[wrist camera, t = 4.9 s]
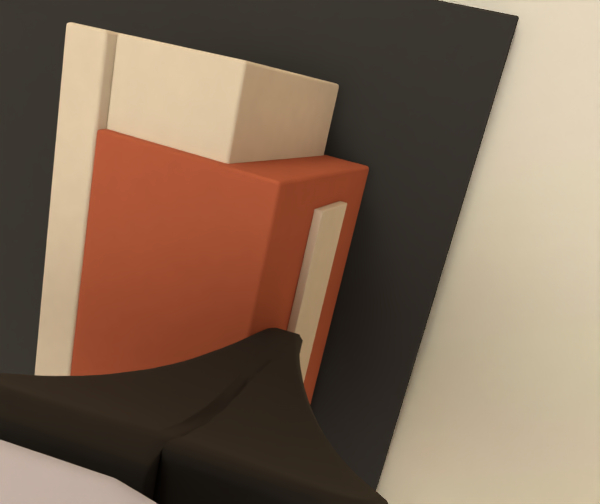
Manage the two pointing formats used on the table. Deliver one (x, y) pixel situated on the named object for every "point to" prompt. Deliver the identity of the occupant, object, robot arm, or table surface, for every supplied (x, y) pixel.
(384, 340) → the mat
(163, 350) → the book in orange sleeve
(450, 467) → the table surface
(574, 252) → the table surface
